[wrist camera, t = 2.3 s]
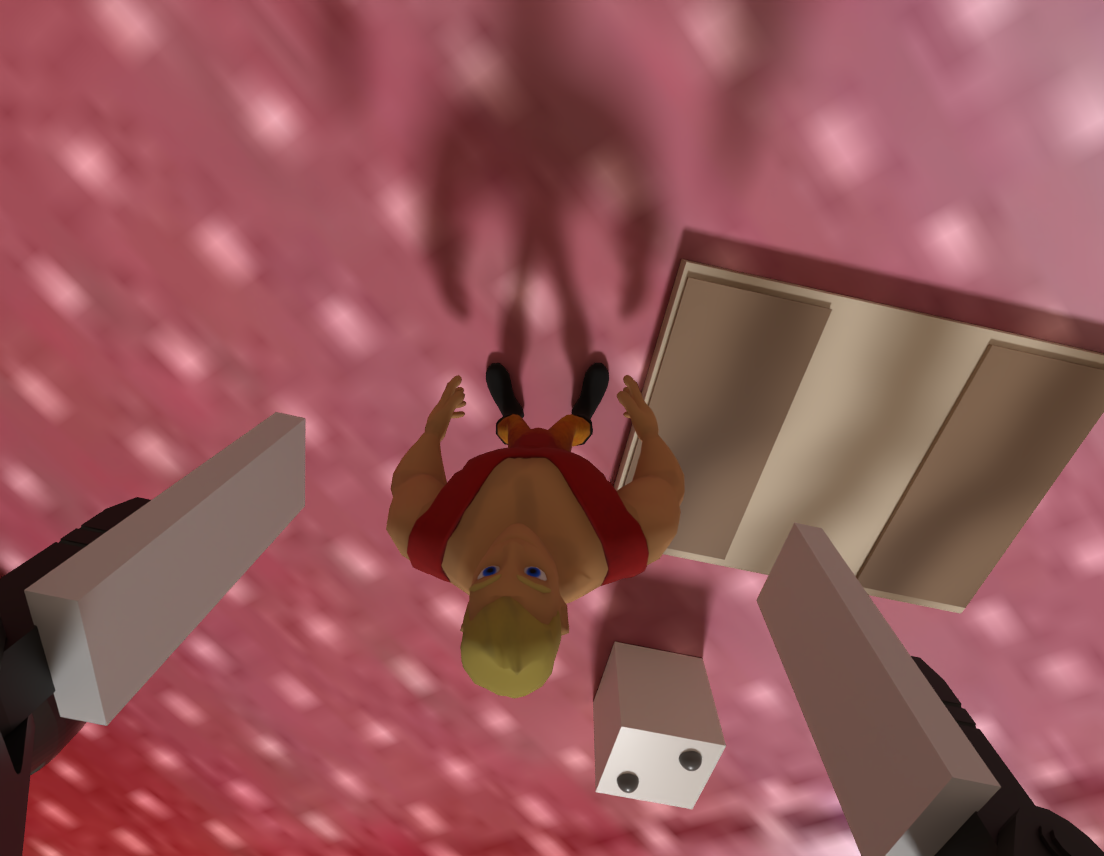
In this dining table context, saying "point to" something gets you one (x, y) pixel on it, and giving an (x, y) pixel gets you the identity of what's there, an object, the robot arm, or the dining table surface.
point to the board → (857, 430)
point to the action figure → (531, 524)
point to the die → (655, 727)
